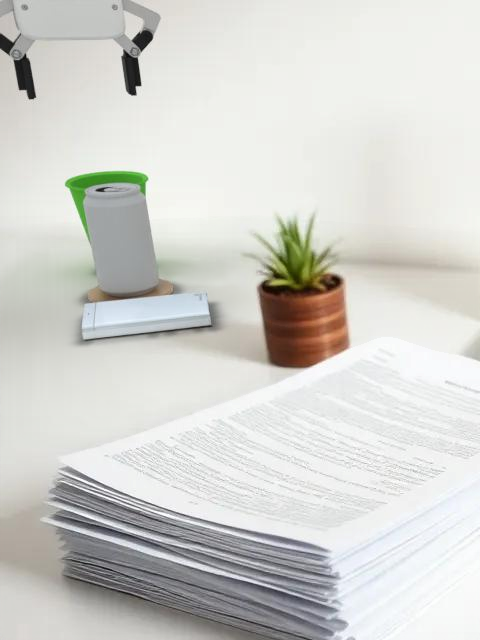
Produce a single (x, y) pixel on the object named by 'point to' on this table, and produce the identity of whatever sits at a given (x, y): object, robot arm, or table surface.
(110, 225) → the beverage can
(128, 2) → the robot arm
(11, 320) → the table surface
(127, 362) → the table surface
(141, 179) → the cup
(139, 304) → the hard drive
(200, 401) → the table surface
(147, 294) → the coaster
